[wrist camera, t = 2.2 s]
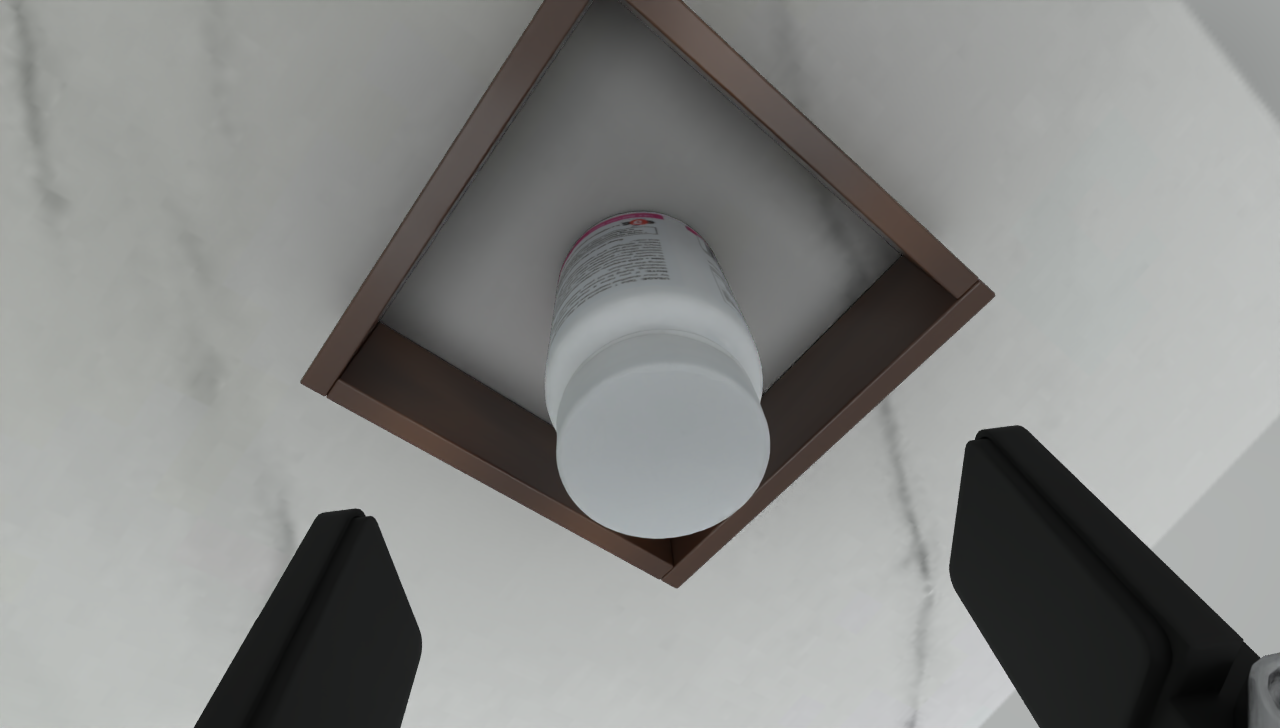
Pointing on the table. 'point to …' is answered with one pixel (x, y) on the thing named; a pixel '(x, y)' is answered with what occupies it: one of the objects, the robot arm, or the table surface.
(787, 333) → the table surface
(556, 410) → the pill bottle
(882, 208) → the square wooden frame
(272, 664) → the robot arm
